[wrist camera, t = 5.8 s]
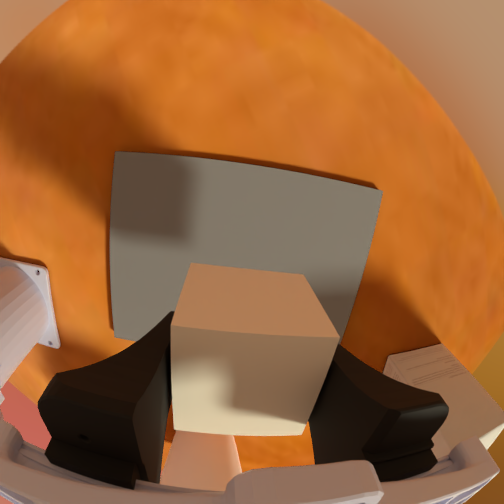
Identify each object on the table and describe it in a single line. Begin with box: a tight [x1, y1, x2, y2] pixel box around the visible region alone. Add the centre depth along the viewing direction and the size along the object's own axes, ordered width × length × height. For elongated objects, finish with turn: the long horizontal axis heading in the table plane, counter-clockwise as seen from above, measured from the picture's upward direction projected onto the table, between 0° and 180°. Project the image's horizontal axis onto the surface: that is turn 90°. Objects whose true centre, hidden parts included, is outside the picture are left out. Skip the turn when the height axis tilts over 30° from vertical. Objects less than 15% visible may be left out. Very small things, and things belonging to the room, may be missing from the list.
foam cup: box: [160, 430, 242, 491], centre depth 20 cm, size 10×9×13 cm
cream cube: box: [171, 263, 340, 436], centre depth 11 cm, size 5×5×5 cm
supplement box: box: [383, 343, 504, 459], centre depth 19 cm, size 7×7×13 cm
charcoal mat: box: [110, 151, 383, 344], centre depth 20 cm, size 18×14×1 cm
